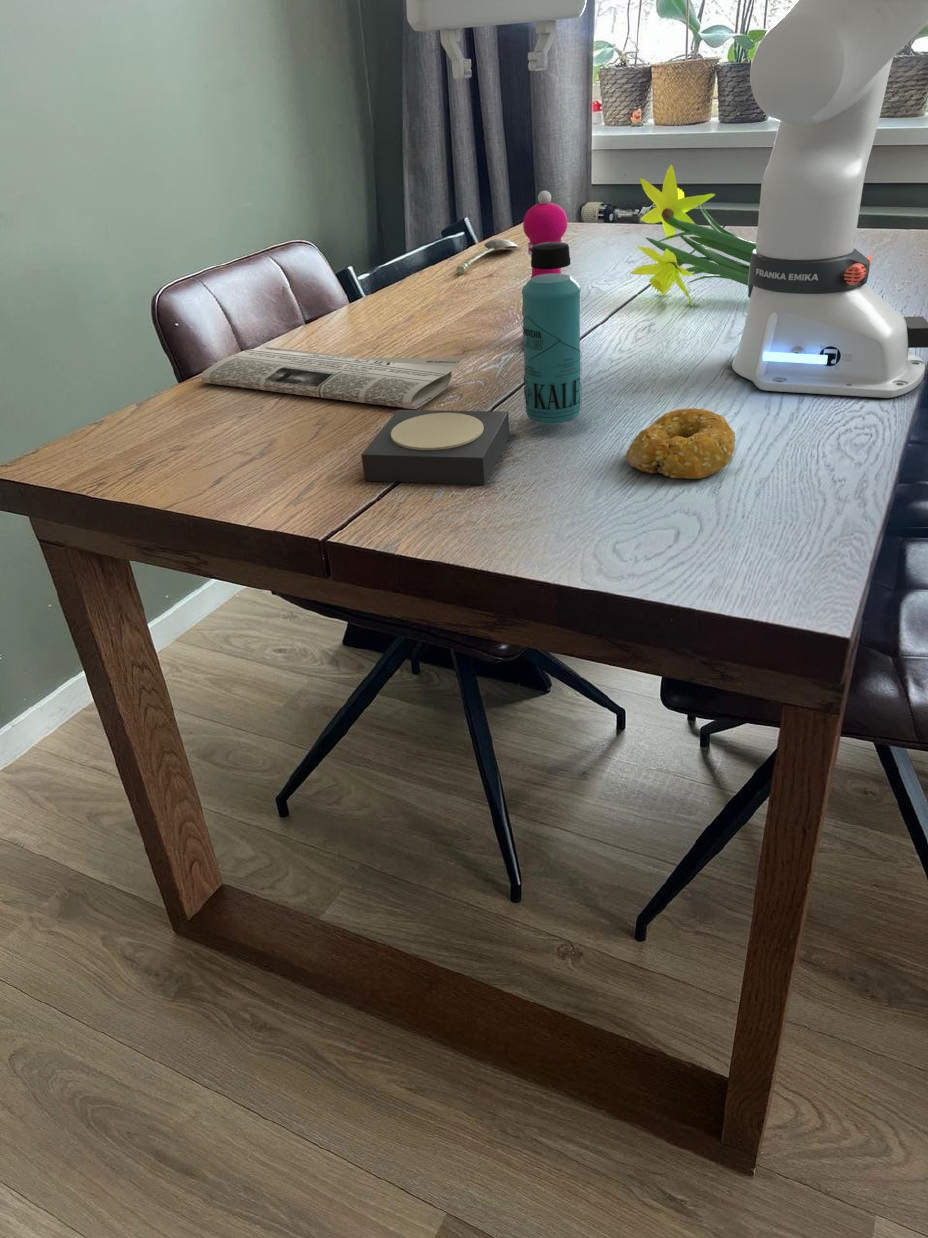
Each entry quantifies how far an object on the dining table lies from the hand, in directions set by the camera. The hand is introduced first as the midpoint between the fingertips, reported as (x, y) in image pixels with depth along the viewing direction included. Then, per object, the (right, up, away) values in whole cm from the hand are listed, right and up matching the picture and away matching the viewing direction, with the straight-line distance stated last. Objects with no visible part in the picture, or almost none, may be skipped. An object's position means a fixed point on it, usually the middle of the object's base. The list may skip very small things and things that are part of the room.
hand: (500, 74), depth 104 cm
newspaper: (-22, -28, +24) cm, 43 cm away
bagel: (+18, -44, -6) cm, 48 cm away
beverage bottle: (+6, -38, +5) cm, 39 cm away
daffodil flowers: (+38, -10, +44) cm, 59 cm away
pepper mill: (+8, -20, +33) cm, 39 cm away
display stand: (-7, -42, -1) cm, 43 cm away
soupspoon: (0, +9, +79) cm, 80 cm away
